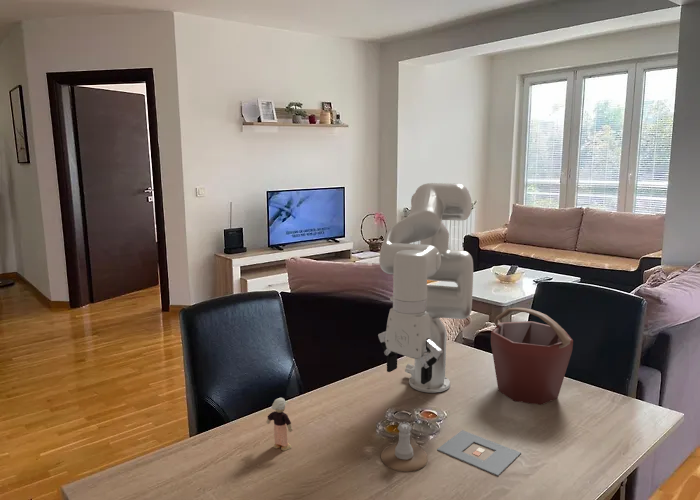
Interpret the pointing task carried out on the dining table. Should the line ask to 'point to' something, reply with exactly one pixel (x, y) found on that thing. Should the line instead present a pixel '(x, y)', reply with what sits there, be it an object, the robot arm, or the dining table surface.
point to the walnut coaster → (404, 465)
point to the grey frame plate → (492, 464)
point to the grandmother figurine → (280, 424)
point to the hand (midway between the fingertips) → (408, 376)
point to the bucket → (530, 357)
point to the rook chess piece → (404, 442)
